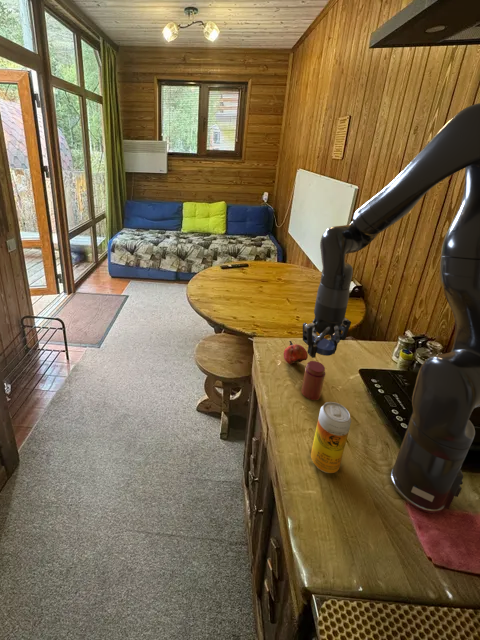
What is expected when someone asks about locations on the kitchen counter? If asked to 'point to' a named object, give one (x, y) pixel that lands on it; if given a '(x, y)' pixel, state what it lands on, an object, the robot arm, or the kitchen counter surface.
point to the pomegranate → (295, 354)
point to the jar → (313, 380)
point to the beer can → (330, 437)
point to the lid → (325, 347)
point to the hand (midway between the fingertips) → (321, 353)
